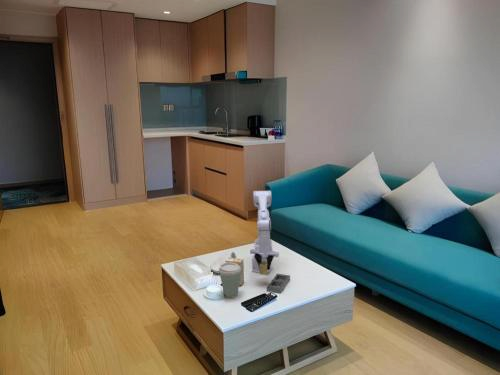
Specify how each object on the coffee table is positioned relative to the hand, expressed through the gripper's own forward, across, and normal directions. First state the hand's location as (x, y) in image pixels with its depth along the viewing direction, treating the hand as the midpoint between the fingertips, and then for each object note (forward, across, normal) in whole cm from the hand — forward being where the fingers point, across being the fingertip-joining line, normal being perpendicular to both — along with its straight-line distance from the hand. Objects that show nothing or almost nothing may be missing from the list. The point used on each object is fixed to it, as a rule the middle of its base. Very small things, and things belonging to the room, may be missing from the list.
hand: (264, 268), depth 193 cm
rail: (+9, +7, +1) cm, 11 cm away
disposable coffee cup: (+9, -12, -16) cm, 22 cm away
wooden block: (+2, 0, 0) cm, 3 cm away
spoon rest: (+9, -28, +13) cm, 32 cm away
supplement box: (+9, -14, -4) cm, 18 cm away
